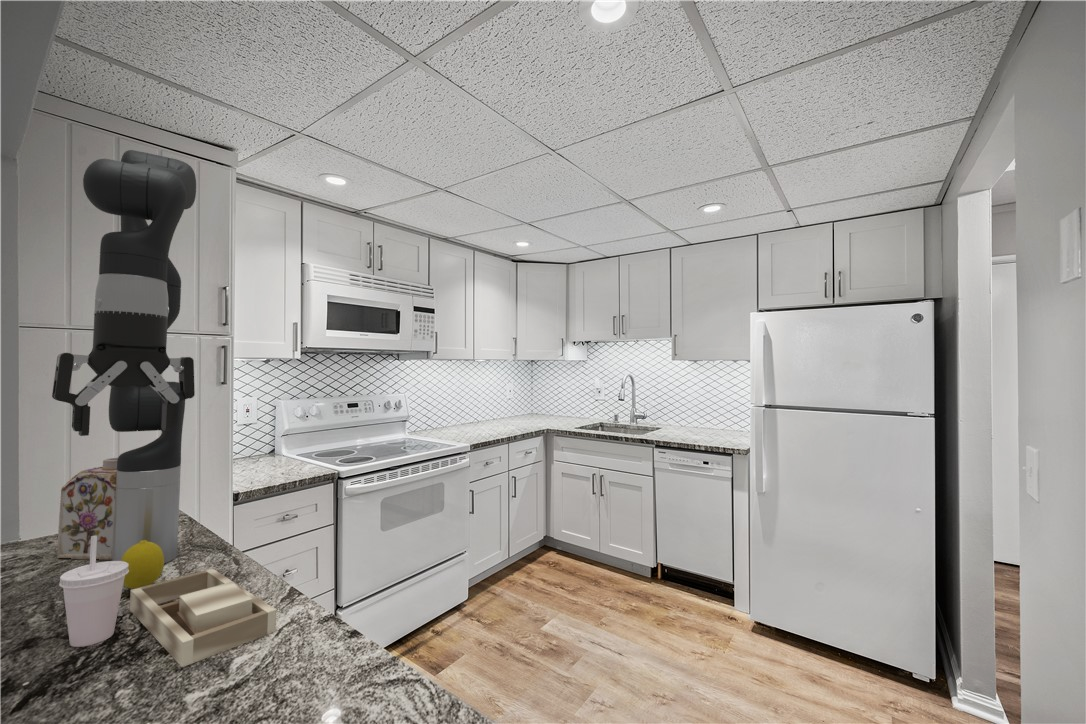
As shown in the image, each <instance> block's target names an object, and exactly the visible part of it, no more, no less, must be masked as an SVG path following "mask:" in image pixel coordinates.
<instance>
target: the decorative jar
mask: <svg viewBox="0 0 1086 724" xmlns="http://www.w3.org/2000/svg"><path fill="white" fill-rule="evenodd" d="M118 457H119V456H117V457H116V456H114V457H108V458H105V459H103V460H102V466H98V467H92V468H87V469H83V470H81V471H80V472H77V474H75V475H74V476H72V477H71V478H70V480H68V481H67V482H66V483H65V484H64V485H63V486H62V487H61V490H60V503H59V518H58V533H57V536H58V537H57V559H58V558H71V559H70V560H90V548H91V536H97V548H96V559H99V561H101V560H102V561H113V542H114V521H115V500H116V477H117V460H118Z"/></svg>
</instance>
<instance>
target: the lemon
mask: <svg viewBox="0 0 1086 724" xmlns="http://www.w3.org/2000/svg"><path fill="white" fill-rule="evenodd" d="M121 561H124V562H127V563H128V570H129V572H128V573H127V574H126V575H125V578H124V584H123V586H124V587H126V588H128V589H130V590H132V589H136V588H140V587H144V586H148V585H152V584H155V583H154V582H156V581H157V580H158V579H159V578H160V577H161V575H162V573H163V571H164V567H165V563H164V555H163V552H162V550H161V548H160V547H159V546H158V545H157V544H155V543H152V542H147V541H146V540H142V541H140V542H139V543H137V544H135V545H133V546H132V547H130V548H129V549H128V550H127V551H126V552H125V553H124V555H123V557H122V559H121Z"/></svg>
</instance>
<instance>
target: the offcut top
mask: <svg viewBox="0 0 1086 724" xmlns="http://www.w3.org/2000/svg"><path fill="white" fill-rule="evenodd" d="M233 582H234V581H233ZM233 582H229V583H225V584H222V585H218V586H214V587H211V588H207V589H203V590H200V591H196V592H192V593H189V594H185V595H181V596H180V598H178V600H179V612H180V613H181V614H182V616H183V617H184V618H185V620H186V621H187V622H188V623H189V625H190V626H191V627H192V628H193V630H194V631H195V632H196V633H197V632H200V631H203V630H206V629H209V628H212V627H215V626H218V625H221V624H224V623H227V622H231V621H234V620H237V619H240V618H243V617H246V616H249V615H252V598H251V597H250V596H248V595H247V594H246V593H245V592H244V591H243V590H241V589H240V588H239V587H238V586H237V585H238V584H237V585H235V584H234V583H235V582H234V583H233Z"/></svg>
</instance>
